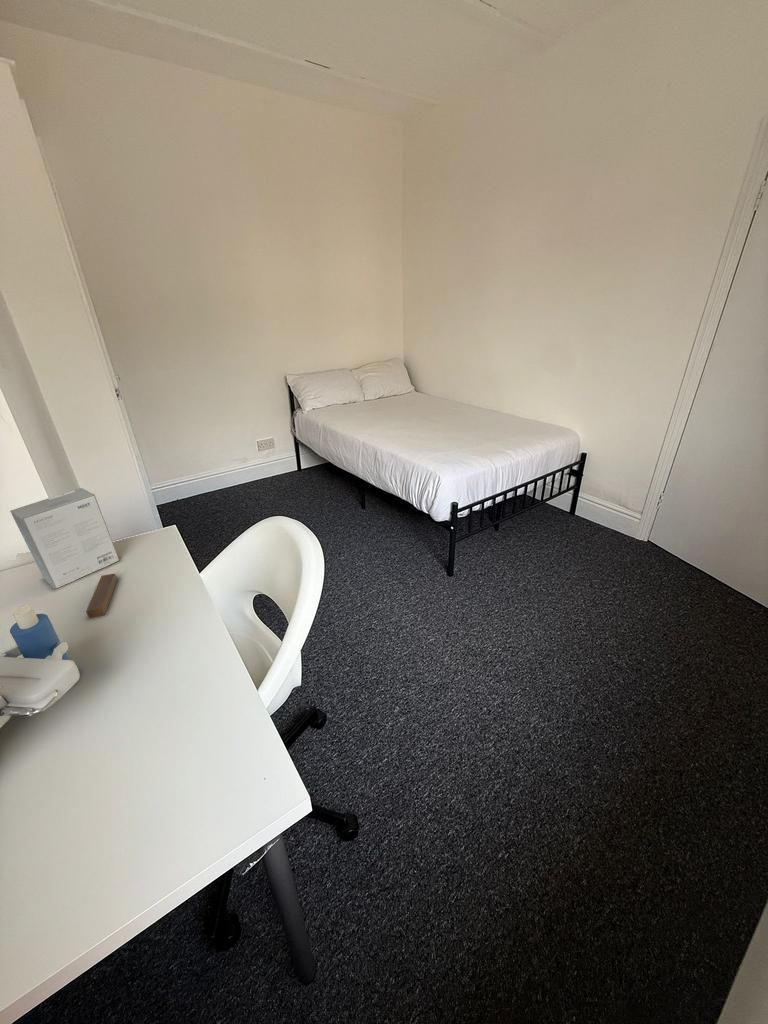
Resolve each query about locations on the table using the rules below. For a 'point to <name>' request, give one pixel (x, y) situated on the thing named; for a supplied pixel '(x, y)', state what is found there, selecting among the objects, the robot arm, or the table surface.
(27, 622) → the blue bottle
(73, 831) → the table surface
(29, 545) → the hard drive box
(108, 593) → the walnut bar
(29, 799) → the table surface
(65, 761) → the table surface
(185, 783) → the table surface
